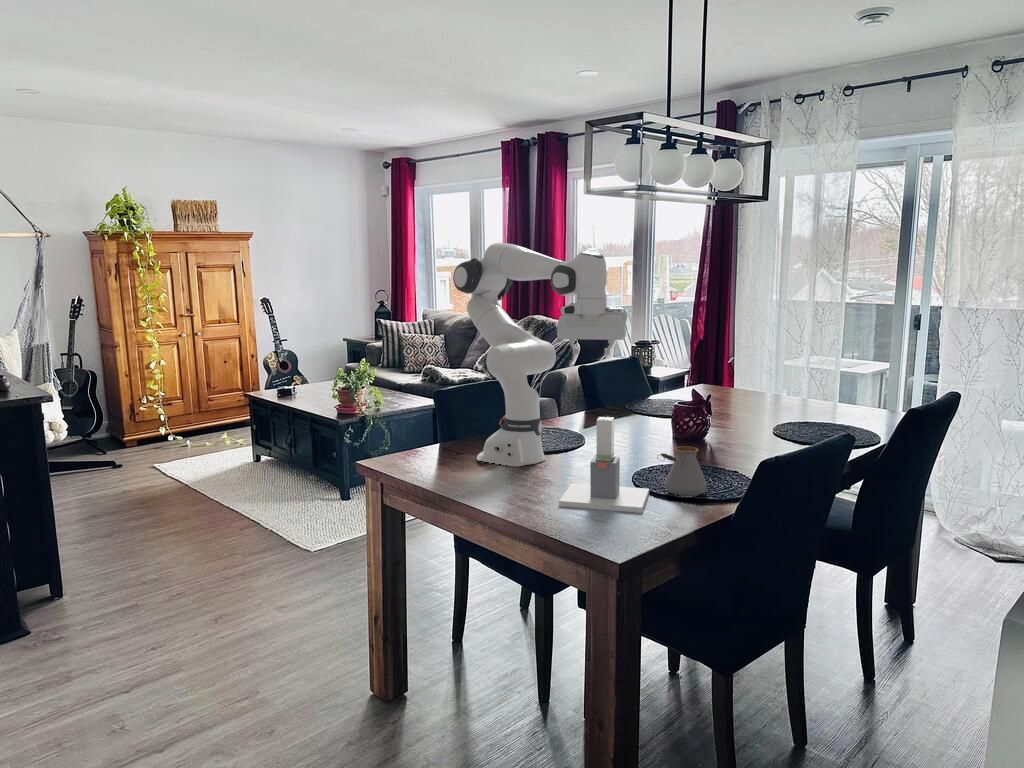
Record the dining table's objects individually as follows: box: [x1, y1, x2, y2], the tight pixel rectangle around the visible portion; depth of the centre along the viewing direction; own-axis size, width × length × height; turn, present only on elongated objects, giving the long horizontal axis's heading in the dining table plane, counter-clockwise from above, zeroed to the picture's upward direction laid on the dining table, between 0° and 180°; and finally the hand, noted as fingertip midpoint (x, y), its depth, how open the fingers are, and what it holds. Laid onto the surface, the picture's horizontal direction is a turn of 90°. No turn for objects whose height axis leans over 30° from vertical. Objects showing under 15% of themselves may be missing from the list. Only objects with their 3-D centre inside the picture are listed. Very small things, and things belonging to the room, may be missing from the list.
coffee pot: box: [656, 445, 708, 496], centre depth 200 cm, size 21×12×15 cm, turn 142°
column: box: [595, 416, 615, 462], centre depth 198 cm, size 4×4×16 cm
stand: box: [558, 454, 650, 514], centre depth 200 cm, size 22×16×12 cm
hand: (591, 354), depth 217 cm, fingers open, 8 cm apart
